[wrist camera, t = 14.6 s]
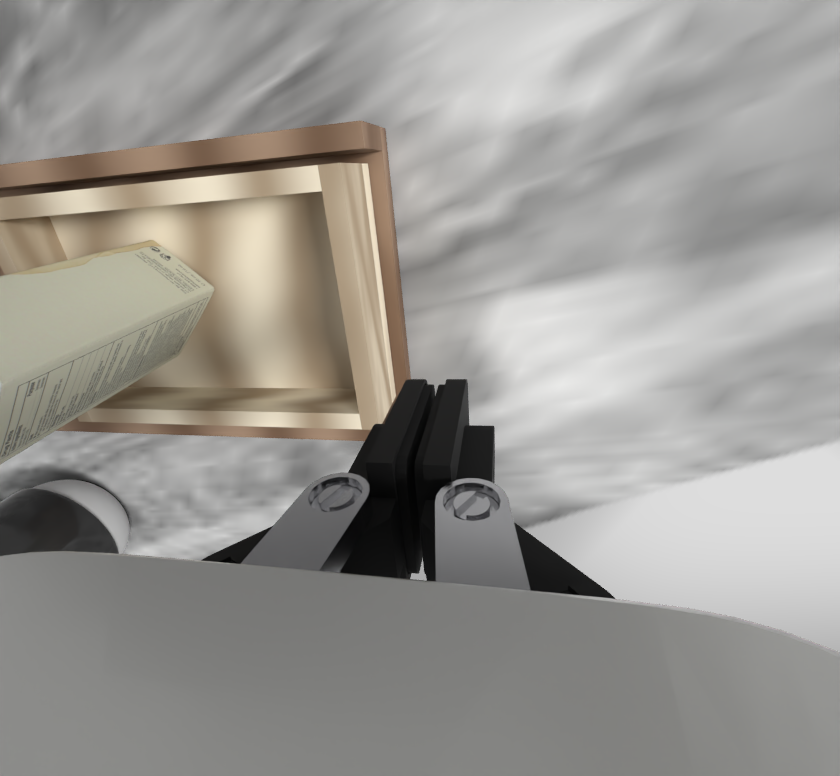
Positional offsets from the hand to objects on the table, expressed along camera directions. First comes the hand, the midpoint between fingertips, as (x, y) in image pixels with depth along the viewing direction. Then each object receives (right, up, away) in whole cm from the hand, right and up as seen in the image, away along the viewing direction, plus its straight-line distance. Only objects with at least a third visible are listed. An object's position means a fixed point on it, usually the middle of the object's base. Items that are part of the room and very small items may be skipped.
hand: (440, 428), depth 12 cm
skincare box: (-16, +6, +14) cm, 22 cm away
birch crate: (-12, +7, +14) cm, 20 cm away
